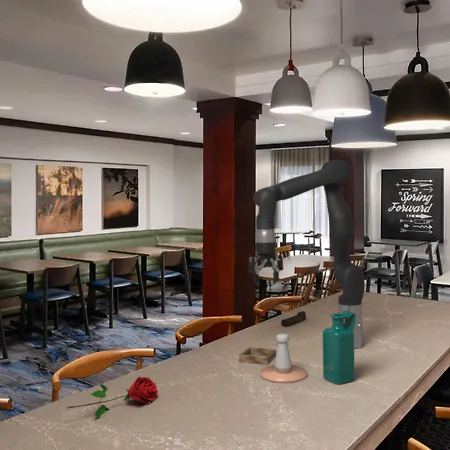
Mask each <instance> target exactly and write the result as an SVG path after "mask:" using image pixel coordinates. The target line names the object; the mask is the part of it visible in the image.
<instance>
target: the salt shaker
mask: <svg viewBox="0 0 450 450" xmlns="http://www.w3.org/2000/svg"><path fill="white" fill-rule="evenodd" d="M275 339H276V342H277V346H276V357H275V358H274V359H275V360H274V365H275V368H276V370H277V372H278V373H280V374H286V373H289V371H290V369H291V367H292V365H293V364H292V359H291V355H290V351H289V346H288V342H289V341H290V336H289V335H288V334H286V333H279V334H277V335H276V338H275Z"/></svg>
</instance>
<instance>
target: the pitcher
mask: <svg viewBox="0 0 450 450" xmlns="http://www.w3.org/2000/svg"><path fill="white" fill-rule="evenodd" d="M329 317H330V318H331V319H332V320H331V321H332V323H331V324H332V325H331V326H329V327H326V328H324V329H323V330H322V333H321V334H322V376H323V377H322V378H323V379H324V380H326V381H328V382H331V383H333V384H334V385H343V384H348V383H351V382H353V381H355V377H356V375H355V374H356V373H355V371H356V370H355V348H354V332H353V329H354V326H355V320H356V314H355V313H351V312H348V311H343V312H342V314H339V313H337V312H336V313H331V314H330V315H329ZM344 319H345V322H344Z"/></svg>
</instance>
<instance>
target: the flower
mask: <svg viewBox="0 0 450 450" xmlns="http://www.w3.org/2000/svg"><path fill="white" fill-rule="evenodd" d="M99 387H101V389H102V390H101V389H100V390H99V389H98V390H95V391H93V392H92V393H91V394H90V395H91V396H93V397H95V398H100V400H99V401H96V402H92V403H87V404H81V405H72V406H71V405H70V406H69V407H66V410H67V409H74V408H79V407H85V406H87V407H88V406H93V405H96V404H97V405H99V404H101V405H100V406H99V407H98V408H97V410H96V411H95V413H94V416H95V417H96V418H101V417H100V416H101V415H102V414H104V413H106V410H109V408H108V407H107V406H106V405H104V404H102V403H108V402H111V401H114V400H117V399H121V398H123V400H122V401H127V400H128V401H129V400H130V399H132V400H133V401H138V402H143V403H145V404H149V402H150V401H151V402H152V401H154V400H155V399H156V398H157V396H158V393H159V390H157V389H158V386H157V385H156V382H154V381H153V380H152V379H151V378H150V377H146V376H140V375H139V376H138V377H137V378H136V379H135V380H134V382H133V383H132V384H131V385H130V387H129V389H128V388H125V390H126V391H127V394H126V395H125V394H124V395H121V396H118V397H115V398H111V399H109V400H103V401H102V399H103V398H106V397H107V394H106V392H107V391H108V387H107V386H106V385H104V384H102V383H100V384H99ZM104 415H105V414H104Z"/></svg>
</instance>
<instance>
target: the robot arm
mask: <svg viewBox="0 0 450 450" xmlns="http://www.w3.org/2000/svg"><path fill="white" fill-rule="evenodd" d="M350 175H351V167H350V165H349V164H348V162H346V161H345V160H343V159H342V160H341V159H333V160H328V161H325V162H324V163H323V164H322V166H321V168H320V169H318V170H315V171H314V172H310V173H309V172H308V173H306V174H302V175H299V176H295V177H292V178H290V179H285V180H283V181H281V182H278V183H277V184H273V185H270V186H265V187H263V188H260V189H257V191H255V192H254V194H253V197H252V199H253V202H254V204H255V205H256V206H257V207H258V213H257V215H256V216H255V254H256V256H255V257H254V256H249V257H248V272H249V273H251V274H252V275H253V283H254V284H255V285H259V284H260V274H259V273H260V271H262V270H263V269H265V268H271V269H272V270H273V272H272V273H273V274H272V275H273V276H272V278H273V279H272V280H273V282H274V283H278V282H279V280H280V271H283V270H284V261H283V260H284V258H283V257H284V256H283V255H282V254H276V232H275V214H276V210H277V209H276V208H277V203H278V202H279V201H287V200H288V199H292V198H294V197H297V196H301V195H302V194H304V193H307V192H310V191H312V190H315V189H317V188H320V187H323V191H324V194H325V200H326V209H327V215H328V224H329V230H330V231H329V232H330V238H331V247H332V250H333V251H332V253H333V254H332V255H333V272H334V278H335V281H336V282H337V283H338V284H339V285H341V286H342V288H343V289H342V293H341V294H340V295H339V296H338V300H337V302H338V303H337V307H338V308H337V310H338V311H337V312H338V313H339V314H342V312H343V311H348V312H351V313H355V314H356V320H355V326H354V329H353V332H354V349H362V348H363V344H364V322H363V314H362V311H363V309H362V308H363V307H362V305H363V304H362V302H363V298H364V294H365V275H364V271H363V269H362V268H361V267H360V266H359V265H357V264H354V263H353V262H352V258H351V245H352V244H351V243H352V240H353V236H354V230H355V229H354V222H353V221H354V220H353V215H352V212H351V209H350V207H349V205H348V203H347V201H346V199H345V197H344V195H343V194H344V193H343V189H342V186H343V185H342V183H344V182H346V180H348V178H349V176H350ZM275 261H276V262H275ZM344 322H345V319H344Z"/></svg>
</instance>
